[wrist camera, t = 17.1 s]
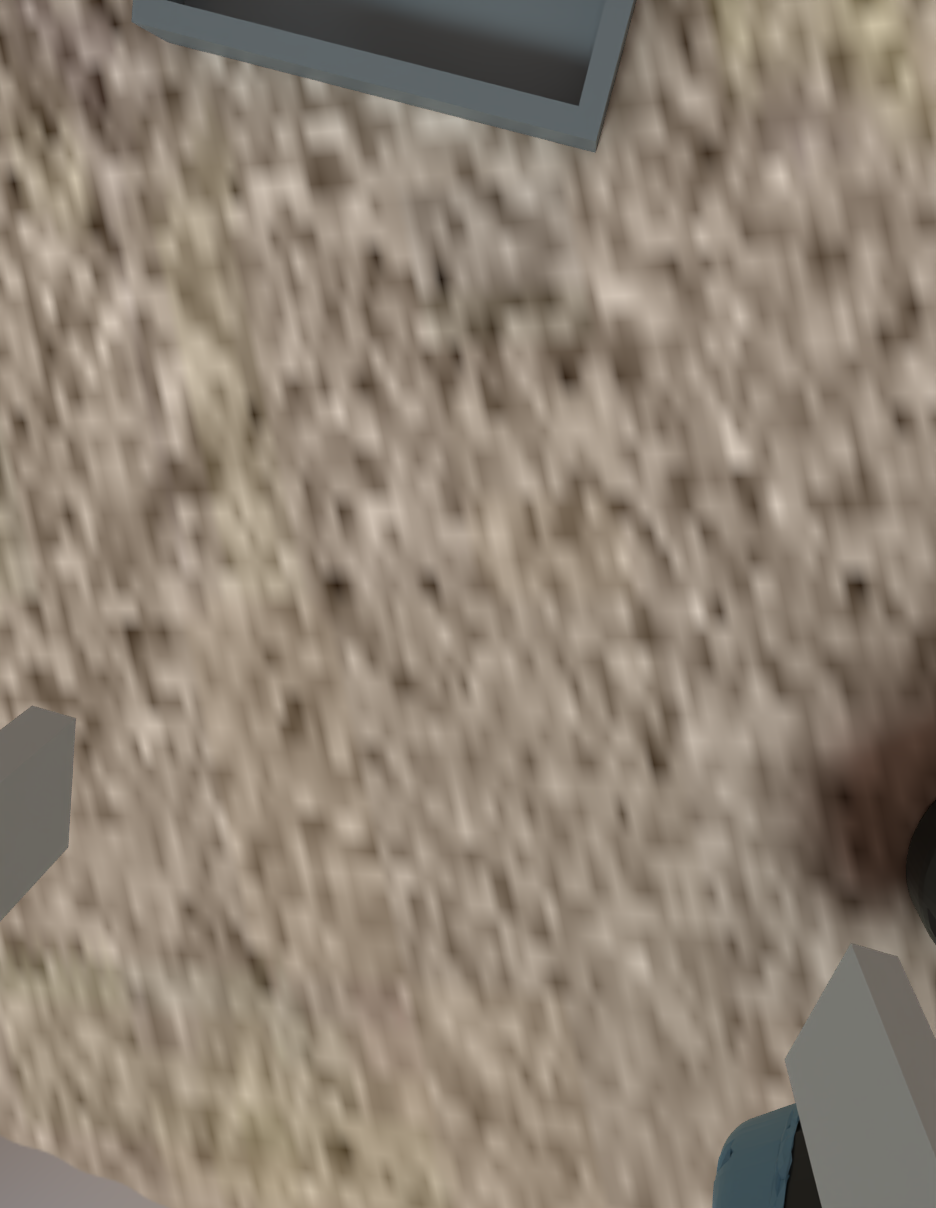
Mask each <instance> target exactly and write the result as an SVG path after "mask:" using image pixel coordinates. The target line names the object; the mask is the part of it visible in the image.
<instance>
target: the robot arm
mask: <svg viewBox="0 0 936 1208" xmlns="http://www.w3.org/2000/svg"><path fill="white" fill-rule="evenodd" d="M75 724H76V718H73V717H70V716H66V715H63V714H59V713H56V712H53V711H49V710H46V709H42V708H39V707H35V706H31V707H30V708H28V709H27V710H26V711H25V712H23V713H22V714H21V715H19V716H18V717H17V718H15V719H14V720H13V721H11V722H10V723H9V724H8V725H6V726H5V727H4V728H2V729H1V730H0V921H1V920H2V919H3V918H4V917H5V916H6V915H7V914H8V912H9V911H10V910H11V909H12V908H13V907H14V906H15V905H16V904H17V903H18V902H19V900H20V899H21V898H22V897H23V896H24V895H25V894H26V893H27V892H28V891H29V890H30V888H31V887H32V886H33V885H34V884H35V883H36V882H37V881H38V880H39V879H40V878H41V876H42V875H43V874H44V873H45V872H46V871H47V870H48V869H49V868H50V867H51V866H52V864H53V863H54V862H55V861H56V860H57V859H58V858H59V857H60V856H61V855H62V854H63V852H64V851H65V850H66V849H67V848H68V842H69V825H70V808H71V791H72V775H73V758H74V741H75ZM906 878H907V885H908V890H909V894H910V897H911V900H912V902H913V905H914V907H915V909H916V911H917V913H918V914H919V916H920V918H921V920H922V922H923V924H924V926H925V928H926V930H927V932H928V933H929V935H930V937H931V939H932V940H933V942H934V943H935V945H936V800H935V802H934V803H933V804H932V805H931V806H930V808H929V809H928V810H927V812H926V813H925V814H924V816H923V818H922V819H921V821H920V822H919V824H918V826H917V828H916V830H915V832H914V835H913V837H912V840H911V843H910V846H909V850H908V855H907V863H906ZM785 1063H786V1067H787V1071H788V1075H789V1079H790V1083H791V1087H792V1091H793V1094H794V1098H795V1102H796V1103H795V1104H792V1105H789V1106H786V1107H783V1108H780V1109H777V1110H775V1111H772V1112H769V1113H766V1114H763V1115H760V1116H757V1117H755V1118H752V1119H749V1120H747V1121H745V1122H744V1123H742V1124H741V1125H739V1126H738V1127H737V1128H736V1129H735V1130H734V1131H733V1132H732V1133H731V1135H730V1136H729V1137H728V1139H727V1140H726V1142H725V1144H724V1146H723V1149H722V1152H721V1155H720V1157H719V1160H718V1167H717V1175H716V1179H715V1181H714V1188H713V1205H712V1208H936V1039H935V1037H934V1035H933V1032H932V1030H931V1028H930V1026H929V1024H928V1021H927V1019H926V1017H925V1015H924V1013H923V1010H922V1008H921V1006H920V1004H919V1002H918V999H917V997H916V995H915V993H914V991H913V989H912V986H911V984H910V982H909V980H908V978H907V975H906V973H905V971H904V969H903V967H902V964H901V962H900V960H899V958H898V957H897V956H894V955H890V954H887V953H883V952H880V951H877V950H873V949H870V948H866V947H863V946H859V945H856V944H852V943H851V944H850V946H849V948H848V949H847V951H846V953H845V955H844V956H843V958H842V960H841V962H840V963H839V965H838V967H837V969H836V970H835V972H834V974H833V976H832V977H831V979H830V981H829V983H828V984H827V986H826V988H825V990H824V991H823V993H822V995H821V997H820V998H819V1000H818V1002H817V1004H816V1005H815V1007H814V1009H813V1011H812V1012H811V1014H810V1016H809V1018H808V1019H807V1021H806V1023H805V1025H804V1026H803V1028H802V1030H801V1032H800V1033H799V1035H798V1037H797V1039H796V1040H795V1042H794V1044H793V1046H792V1047H791V1049H790V1051H789V1053H788V1055H787V1056H786V1058H785Z"/></svg>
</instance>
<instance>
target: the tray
mask: <svg viewBox="0 0 936 1208" xmlns="http://www.w3.org/2000/svg"><path fill="white" fill-rule="evenodd" d="M635 3H636V0H133V9H132V22H133V23H135V24H136V25H138V26H140V27H142V28H143V29H145V30H147V31H149V32H151V33H152V34H154V35H156V36H158V37H159V38H161V39H163V40H165V41H166V42H169V43H173V44H177V45H181V46H185V47H188V48H192V49H196V50H200V51H204V52H208V53H212V54H216V55H219V56H223V57H227V58H231V59H235V60H239V61H243V62H247V63H250V64H254V65H258V66H262V67H266V68H270V69H274V70H278V71H281V72H285V73H289V74H293V75H297V76H301V77H305V78H309V79H312V80H316V81H320V82H324V83H328V84H332V85H336V86H340V87H343V88H347V89H351V90H355V91H359V92H363V93H367V94H371V95H374V96H378V97H382V98H386V99H390V100H394V101H398V102H402V103H405V104H409V105H413V106H417V107H421V108H425V109H429V110H433V111H436V112H440V113H444V114H448V115H452V116H456V117H460V118H463V119H467V120H471V121H475V122H479V123H483V124H487V125H491V126H494V127H498V128H502V129H506V130H510V131H514V132H518V133H522V134H525V135H529V136H533V137H537V138H541V139H545V140H549V141H553V142H556V143H560V144H564V145H568V146H572V147H576V148H580V149H584V150H587V151H591V152H595V153H596V149H597V145H598V141H599V138H600V134H601V130H602V127H603V123H604V119H605V115H606V112H607V108H608V104H609V100H610V97H611V93H612V89H613V85H614V82H615V78H616V74H617V70H618V67H619V63H620V59H621V56H622V52H623V48H624V44H625V41H626V37H627V33H628V29H629V26H630V22H631V18H632V14H633V11H634V7H635Z"/></svg>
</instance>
